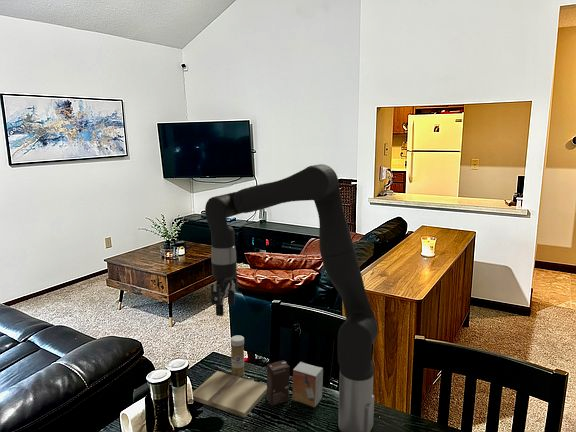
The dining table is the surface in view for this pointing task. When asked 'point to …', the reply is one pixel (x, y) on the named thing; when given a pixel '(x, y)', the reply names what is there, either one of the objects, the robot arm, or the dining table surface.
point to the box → (278, 382)
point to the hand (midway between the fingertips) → (225, 310)
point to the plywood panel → (230, 393)
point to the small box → (307, 384)
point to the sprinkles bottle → (237, 355)
